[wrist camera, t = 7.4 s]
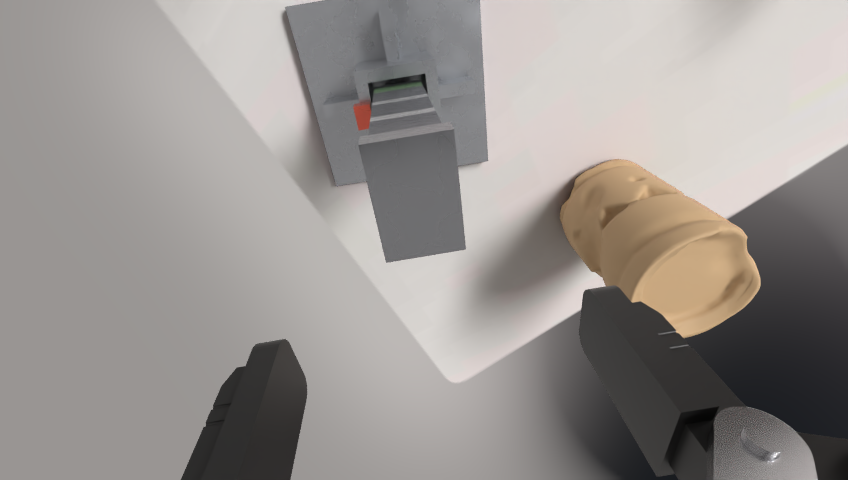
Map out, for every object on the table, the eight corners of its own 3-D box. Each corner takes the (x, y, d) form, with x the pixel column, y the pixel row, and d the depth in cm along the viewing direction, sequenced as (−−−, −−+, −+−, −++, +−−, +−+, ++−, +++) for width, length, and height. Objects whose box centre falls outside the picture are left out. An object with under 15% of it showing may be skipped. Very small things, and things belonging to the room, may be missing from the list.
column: (372, 74, 32) (358, 145, 15) (418, 67, 32) (454, 128, 15) (385, 143, 35) (386, 262, 19) (427, 136, 35) (465, 249, 19)
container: (610, 138, 45) (725, 204, 30) (667, 193, 50) (793, 275, 34) (535, 215, 50) (602, 306, 34) (594, 258, 54) (676, 356, 39)
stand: (287, 7, 35) (259, 6, 28) (476, -25, 35) (502, -34, 28) (337, 182, 45) (327, 219, 37) (486, 158, 45) (507, 189, 37)
